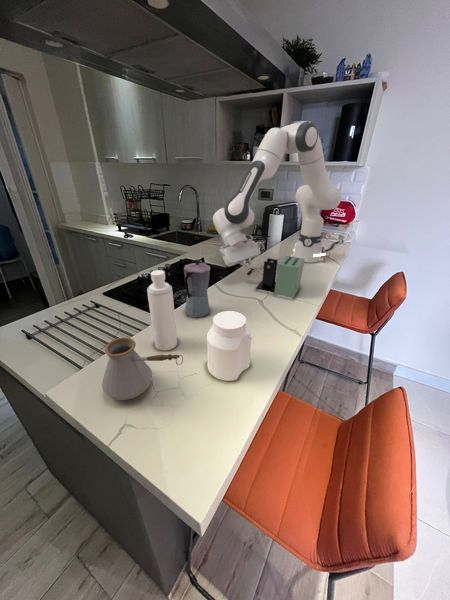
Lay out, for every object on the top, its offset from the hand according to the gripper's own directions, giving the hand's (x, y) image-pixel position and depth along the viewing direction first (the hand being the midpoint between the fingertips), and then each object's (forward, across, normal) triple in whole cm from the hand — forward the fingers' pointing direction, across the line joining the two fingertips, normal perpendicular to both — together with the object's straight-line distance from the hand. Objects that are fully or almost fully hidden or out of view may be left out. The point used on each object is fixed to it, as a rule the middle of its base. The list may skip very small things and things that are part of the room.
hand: (250, 269), depth 113 cm
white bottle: (+13, -51, -3) cm, 53 cm away
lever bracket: (+11, +3, -1) cm, 12 cm away
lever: (+3, +2, -4) cm, 5 cm away
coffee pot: (+22, -65, -12) cm, 70 cm away
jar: (+27, -44, -16) cm, 54 cm away
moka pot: (+8, -33, +3) cm, 34 cm away
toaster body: (+17, +6, -6) cm, 19 cm away
